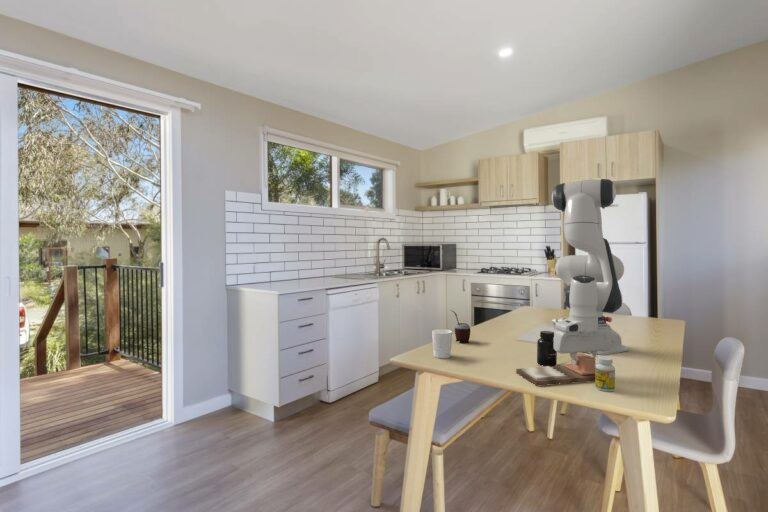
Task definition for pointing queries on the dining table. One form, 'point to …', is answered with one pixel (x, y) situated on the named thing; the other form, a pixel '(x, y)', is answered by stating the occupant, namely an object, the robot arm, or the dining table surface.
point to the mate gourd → (462, 331)
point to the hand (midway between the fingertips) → (583, 364)
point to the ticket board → (553, 375)
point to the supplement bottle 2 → (605, 374)
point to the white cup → (442, 343)
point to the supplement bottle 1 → (546, 349)
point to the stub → (583, 364)
